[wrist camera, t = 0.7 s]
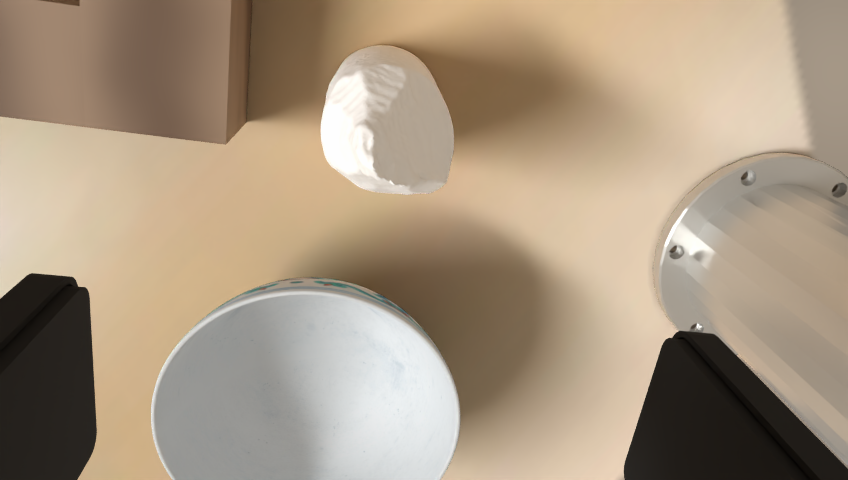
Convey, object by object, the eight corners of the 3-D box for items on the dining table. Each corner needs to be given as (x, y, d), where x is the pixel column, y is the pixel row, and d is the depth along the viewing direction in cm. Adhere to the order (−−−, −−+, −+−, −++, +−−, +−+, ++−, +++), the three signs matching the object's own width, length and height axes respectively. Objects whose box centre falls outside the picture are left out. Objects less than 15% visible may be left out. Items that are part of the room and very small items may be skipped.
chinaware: (399, 468, 43) (404, 566, 35) (169, 416, 40) (124, 511, 33) (480, 272, 38) (505, 340, 30) (225, 196, 35) (186, 251, 28)
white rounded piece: (506, 165, 23) (394, 268, 24) (462, 104, 34) (387, 177, 35) (386, 38, 21) (271, 157, 22) (382, 18, 32) (305, 98, 33)
